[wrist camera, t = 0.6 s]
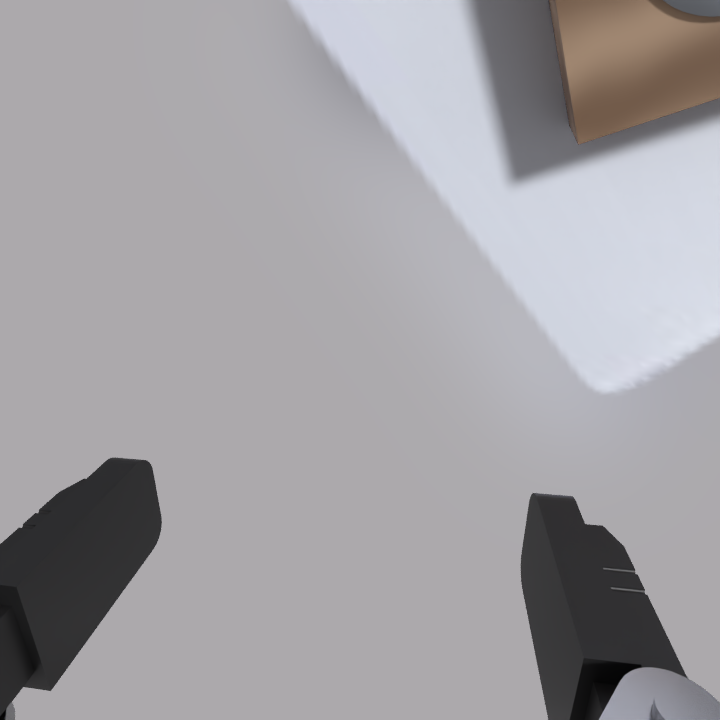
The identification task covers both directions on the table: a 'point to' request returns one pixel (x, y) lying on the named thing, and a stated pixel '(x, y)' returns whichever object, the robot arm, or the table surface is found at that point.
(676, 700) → the robot arm
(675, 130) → the table surface
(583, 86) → the walnut plinth
